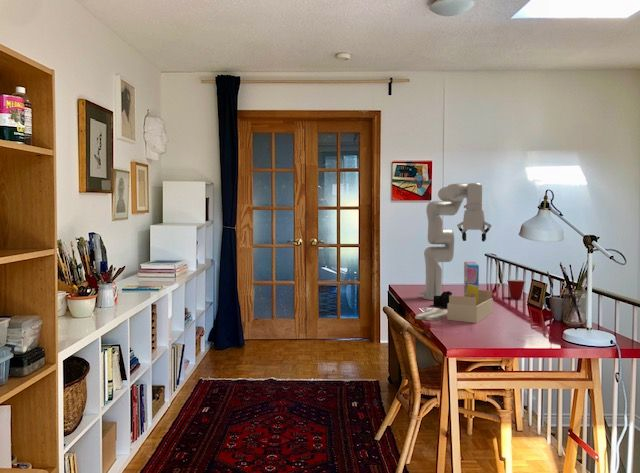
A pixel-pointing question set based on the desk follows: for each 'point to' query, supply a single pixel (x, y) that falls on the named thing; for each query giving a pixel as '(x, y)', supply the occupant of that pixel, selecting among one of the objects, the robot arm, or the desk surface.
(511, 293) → the plastic cup
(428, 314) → the white glove
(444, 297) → the film camera
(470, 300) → the carton
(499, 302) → the desk surface
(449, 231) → the robot arm
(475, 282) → the game box
